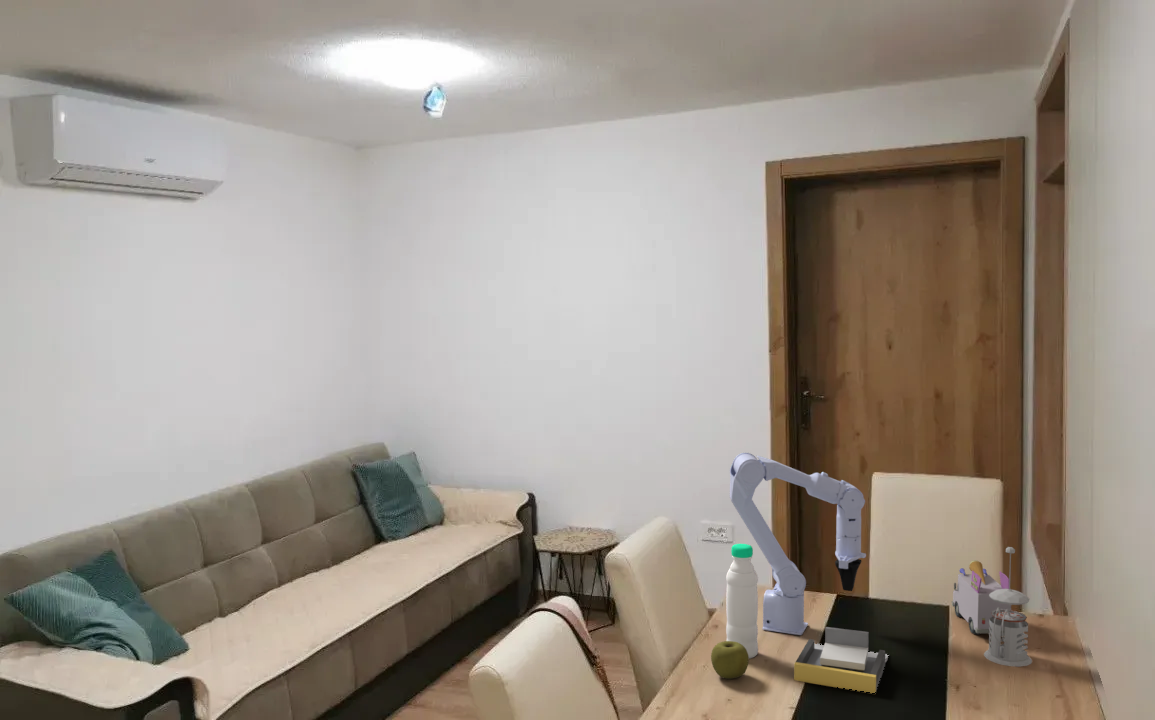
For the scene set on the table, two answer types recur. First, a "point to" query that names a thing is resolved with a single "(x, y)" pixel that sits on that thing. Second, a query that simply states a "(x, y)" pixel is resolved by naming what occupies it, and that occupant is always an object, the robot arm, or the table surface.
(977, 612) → the toy vehicle
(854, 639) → the grey angled piece
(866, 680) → the dock
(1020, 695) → the table surface
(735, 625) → the water bottle
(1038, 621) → the table surface
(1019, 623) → the french press
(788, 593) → the robot arm
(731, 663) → the apple
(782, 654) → the table surface
